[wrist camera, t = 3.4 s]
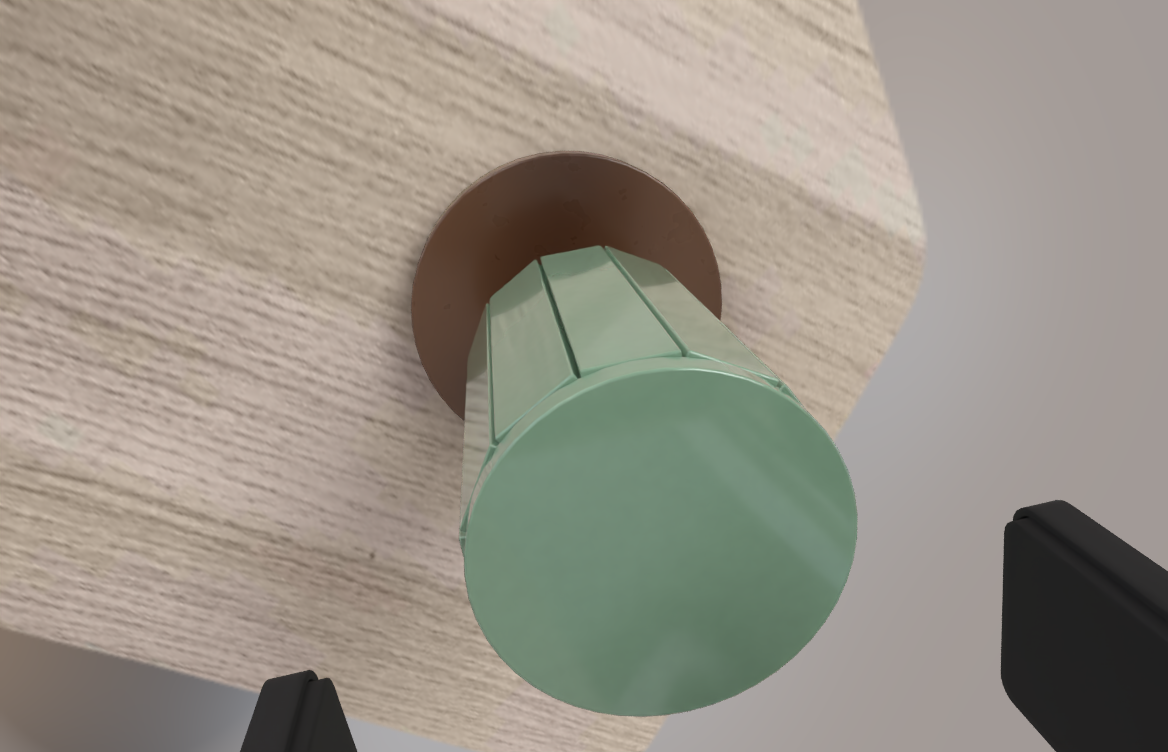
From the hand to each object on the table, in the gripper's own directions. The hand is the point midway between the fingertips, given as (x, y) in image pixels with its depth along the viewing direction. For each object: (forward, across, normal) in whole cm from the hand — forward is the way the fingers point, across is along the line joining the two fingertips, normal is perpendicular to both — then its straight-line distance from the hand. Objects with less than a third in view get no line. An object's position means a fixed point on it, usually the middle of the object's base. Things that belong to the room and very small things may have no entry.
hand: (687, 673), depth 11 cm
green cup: (+13, 0, 0) cm, 13 cm away
